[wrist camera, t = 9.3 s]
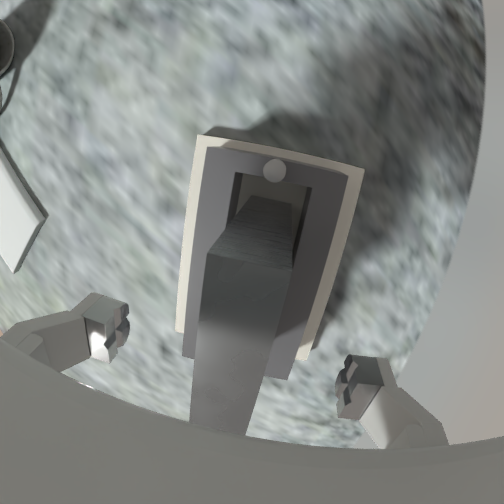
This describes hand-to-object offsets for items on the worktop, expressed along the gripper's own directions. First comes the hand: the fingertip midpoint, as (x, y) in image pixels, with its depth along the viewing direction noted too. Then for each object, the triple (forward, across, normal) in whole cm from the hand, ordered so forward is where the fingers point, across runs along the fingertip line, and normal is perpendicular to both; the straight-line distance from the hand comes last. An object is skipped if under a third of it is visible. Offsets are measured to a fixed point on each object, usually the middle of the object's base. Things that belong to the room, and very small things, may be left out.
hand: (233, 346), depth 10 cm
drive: (+9, 0, +1) cm, 9 cm away
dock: (+10, 0, +1) cm, 10 cm away
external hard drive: (+11, +26, +1) cm, 28 cm away
